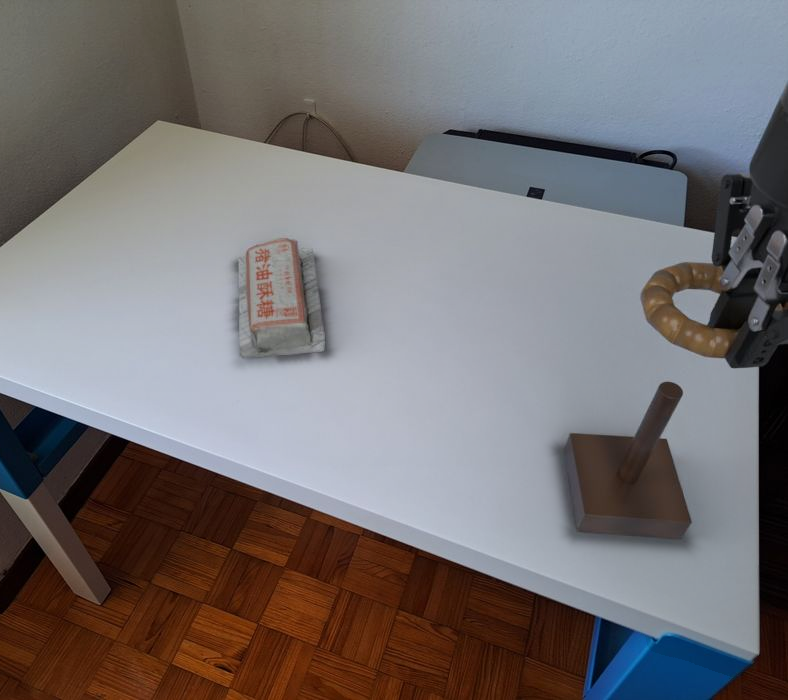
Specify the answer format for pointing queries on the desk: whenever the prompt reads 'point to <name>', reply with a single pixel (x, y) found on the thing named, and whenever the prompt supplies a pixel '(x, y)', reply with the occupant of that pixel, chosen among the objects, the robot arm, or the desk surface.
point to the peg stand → (629, 477)
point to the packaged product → (279, 301)
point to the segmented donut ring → (678, 324)
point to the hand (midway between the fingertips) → (731, 347)
